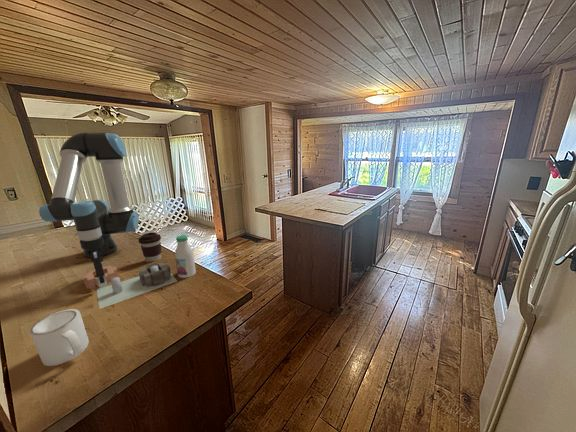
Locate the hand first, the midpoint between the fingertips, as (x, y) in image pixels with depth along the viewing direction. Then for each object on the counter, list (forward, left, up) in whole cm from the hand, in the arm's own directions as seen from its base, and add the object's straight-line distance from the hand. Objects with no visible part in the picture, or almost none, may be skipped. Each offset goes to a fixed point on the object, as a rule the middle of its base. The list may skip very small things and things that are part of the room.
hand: (102, 282), depth 102 cm
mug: (+39, -11, 0) cm, 40 cm away
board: (+16, +11, 0) cm, 19 cm away
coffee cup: (-7, +22, 0) cm, 23 cm away
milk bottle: (+20, +30, 0) cm, 36 cm away
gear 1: (0, 0, 0) cm, 0 cm away
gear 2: (+16, +18, +1) cm, 24 cm away
